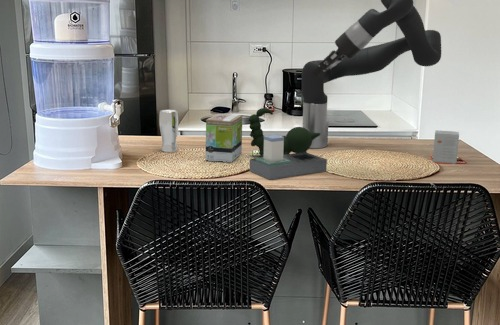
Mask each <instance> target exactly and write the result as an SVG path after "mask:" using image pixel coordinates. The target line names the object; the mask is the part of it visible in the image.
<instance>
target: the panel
mask: <svg viewBox="0 0 500 325" xmlns="http://www.w3.org/2000/svg"><path fill="white" fill-rule="evenodd" d="M306 152H307V151H306ZM306 152H301V153H294V152H292V153H289V154H286V155H283V161H278V162H271V163H270V162H268V161H265V160H264V156H261V157H256V158H249V172H250V173H253V174H255V175H258V176H260V177H262V178H264V179H265V180H269V181H271V180H272V181H273V180H278V179H284V178H285V179H286V178H291V177H296V176H297V177H298V176H303V175H311V174H316V173H322V172H327V164H328V162H327V161H328V159H327V158H324V157H321V156H318V155H315V154H312V153H309V152H307V153H306Z"/></svg>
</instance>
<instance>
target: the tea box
mask: <svg viewBox="0 0 500 325" xmlns="http://www.w3.org/2000/svg"><path fill="white" fill-rule="evenodd" d="M242 145H243V115H242V114H229V113H228V114H227V113H216V114H214V115H213V116H210V117H209V118H207V119H206V120H205V158H204V159H205V161H206V160H208V161H207V162H216V161H223V162H222V163H232V162H233V161H235V160H236V159H237V158H238V157H240V155H242V152H243V151H242V150H243V149H242V148H243V147H242ZM226 161H227V162H226Z"/></svg>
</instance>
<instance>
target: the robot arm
mask: <svg viewBox="0 0 500 325" xmlns="http://www.w3.org/2000/svg"><path fill="white" fill-rule="evenodd" d="M380 2H381V4H382V5H383V6H384V8H385V9H386V10H383V11H380V12H379V11H378V10H377V9H375V8H370V9H369V10H367V12H365V13H364V14H363V15H362V16H361V17H360V18H358V19H357V21H355V22H354V23H353V24H351V25H350V26H349V27H348V28H347V29H346V30H345V31H344V32H342V34H341V35H339V37H338V38H336V40H335V41H334V44H335V45H336V47H337V49H336V50H334V49H333V50H332V51H330V52H329V54H328V55H327V56H326V57H324V58H323V59H322V60H321V59H319V60H318V59H317V60H311V61H308V62H306V63H305V64H304V65H303V67H302V69H301V70H302V71H301V95H302V98H303V99H302V100H303V104H302V127H303V128H305V129H307V130H308V131H309V132H312V133H320V135H319V136H318V137H316V138H315V139H313V140H312V144H311V146H310V148H309V149H322V148H325V147H328V143H329V142H328V141H329V140H328V139H329V138H328V137H329V122H328V121H327V116H328V95H327V94H326V93H325V91H324V90H325V89H324V88H325V87H324V84H326V83H329V82H331V81H334V80H337V79H340V78H345V77H353V76H362V75H367V74H368V75H369V74H371V73H377V72H380V71H382V70H384V69H385V68H386V67H387V66H389V65H390V64H391V63H393V61H394V60H396V59H397V58H398V57H400V56H401V55H403V54H404V53H407V52H410V51H411V53H412V59H413V61H414V63H415V64H417V65H419V66H421V67H431V66H435V65H436V64H438V63H439V62H440V61H441V59H442V35H441V33H440V32H439V31H438V30H435V29H425V25H424V21H423V18H422V17H421V14H420V12H419V11H418V9H417V8H416V7H415V5H414V0H380ZM394 23H396V25H397V27H398V28H399V30H400V31H401V33H402V34H403V37H401V38H400V37H399V38H398V39H394V40H392V41H388V42H384V43H380V44H376V45H372V46H367V45H368V44H370V42H371V41H372V39H374V38H375V37H376V36H377V35H378V34H379V33H380V32H381V31H382V30H384V29H385V28H387V27H389V26H390V25H393V24H394ZM366 46H367V47H366Z"/></svg>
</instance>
